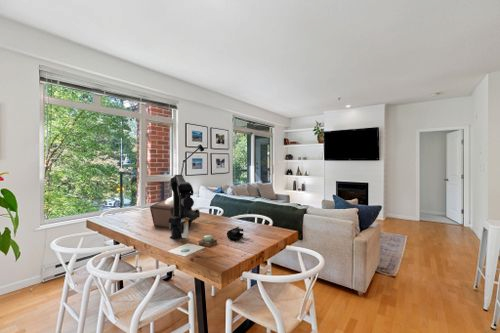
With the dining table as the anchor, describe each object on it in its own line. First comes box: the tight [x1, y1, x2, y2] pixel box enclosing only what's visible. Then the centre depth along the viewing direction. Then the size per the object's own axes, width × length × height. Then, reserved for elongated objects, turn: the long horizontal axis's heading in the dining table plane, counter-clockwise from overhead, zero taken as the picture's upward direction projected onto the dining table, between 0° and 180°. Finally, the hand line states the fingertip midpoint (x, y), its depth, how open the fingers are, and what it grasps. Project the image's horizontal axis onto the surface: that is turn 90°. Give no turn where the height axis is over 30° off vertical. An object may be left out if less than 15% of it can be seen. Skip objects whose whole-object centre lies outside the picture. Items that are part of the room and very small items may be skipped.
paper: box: [166, 242, 206, 258], centre depth 137 cm, size 14×16×1 cm
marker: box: [181, 220, 189, 239], centre depth 135 cm, size 4×4×9 cm
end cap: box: [226, 226, 244, 242], centre depth 157 cm, size 10×7×7 cm
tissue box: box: [149, 195, 185, 229], centre depth 195 cm, size 24×28×24 cm
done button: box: [203, 234, 213, 242], centre depth 147 cm, size 5×5×3 cm
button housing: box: [198, 237, 218, 248], centre depth 147 cm, size 8×8×2 cm
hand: (185, 232), depth 135 cm, fingers closed on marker, 4 cm apart
